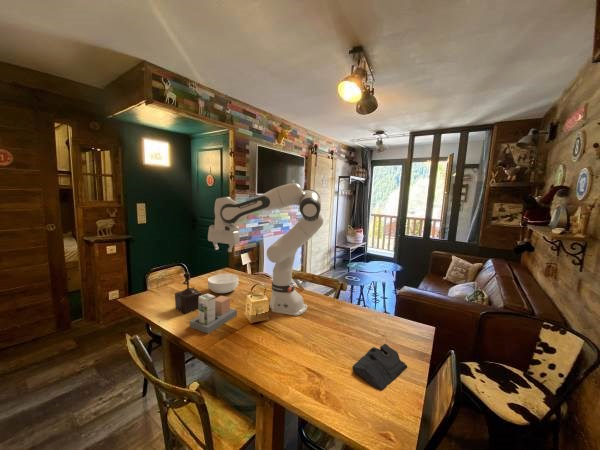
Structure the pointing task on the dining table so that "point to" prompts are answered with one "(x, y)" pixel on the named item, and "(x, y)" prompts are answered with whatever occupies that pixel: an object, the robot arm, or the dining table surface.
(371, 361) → the dark slate chunk
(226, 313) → the tray
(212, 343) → the dining table surface
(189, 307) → the manual coffee grinder
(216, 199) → the robot arm
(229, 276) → the bowl
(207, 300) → the syrup box
